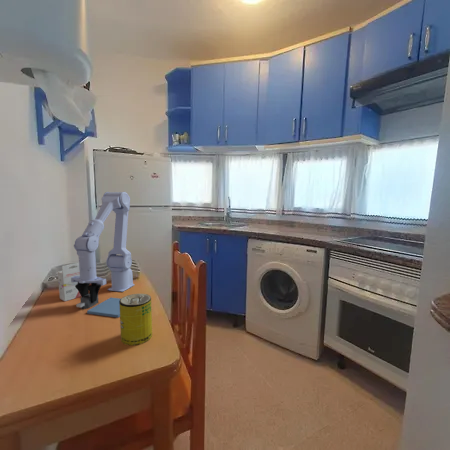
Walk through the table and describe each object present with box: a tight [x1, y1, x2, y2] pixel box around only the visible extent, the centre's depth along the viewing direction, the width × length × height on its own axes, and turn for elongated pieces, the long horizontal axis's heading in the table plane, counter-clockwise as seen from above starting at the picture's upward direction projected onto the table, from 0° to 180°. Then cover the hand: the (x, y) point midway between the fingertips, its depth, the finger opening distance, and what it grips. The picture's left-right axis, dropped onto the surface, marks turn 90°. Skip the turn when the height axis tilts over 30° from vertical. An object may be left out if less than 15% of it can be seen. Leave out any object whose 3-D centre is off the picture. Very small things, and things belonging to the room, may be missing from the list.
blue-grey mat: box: [86, 297, 121, 319], centre depth 101 cm, size 13×13×1 cm
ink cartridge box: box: [57, 262, 81, 302], centre depth 111 cm, size 9×5×15 cm, turn 143°
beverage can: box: [119, 293, 153, 346], centre depth 80 cm, size 9×9×12 cm
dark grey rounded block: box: [75, 293, 99, 310], centre depth 102 cm, size 9×3×4 cm, turn 166°
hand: (89, 301), depth 103 cm, fingers closed on dark grey rounded block, 3 cm apart
